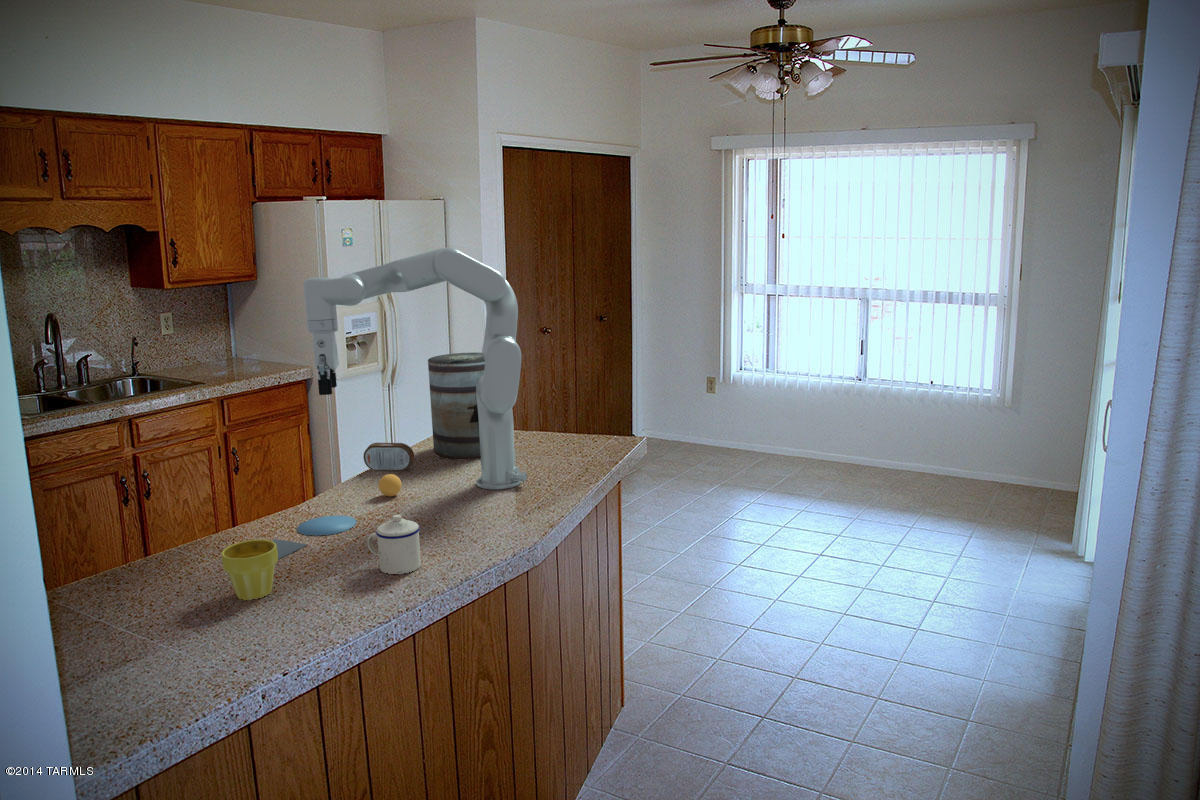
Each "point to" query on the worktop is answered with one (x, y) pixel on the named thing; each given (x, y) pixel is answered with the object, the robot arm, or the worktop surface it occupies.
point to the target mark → (326, 525)
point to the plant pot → (251, 567)
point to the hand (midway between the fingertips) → (328, 390)
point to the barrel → (455, 404)
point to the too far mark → (287, 547)
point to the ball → (390, 485)
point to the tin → (388, 457)
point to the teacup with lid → (397, 546)
